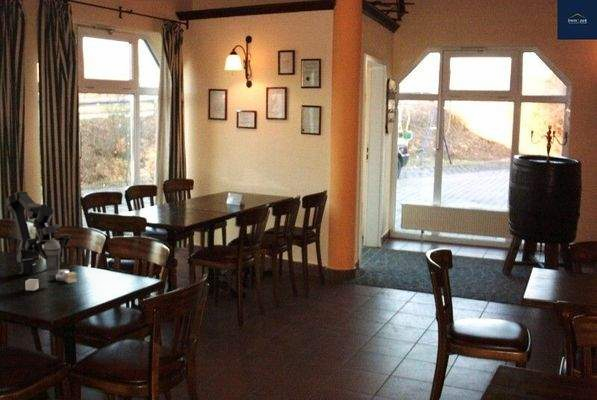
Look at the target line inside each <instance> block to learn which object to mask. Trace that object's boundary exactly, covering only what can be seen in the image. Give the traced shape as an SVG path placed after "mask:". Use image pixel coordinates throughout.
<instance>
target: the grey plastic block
mask: <svg viewBox="0 0 597 400" xmlns="http://www.w3.org/2000/svg"><path fill="white" fill-rule="evenodd" d="M24 285H25V287H24V288H25V291H36V290H38V289H39V288H40V287H39V285H40V284H39V279H38V278H37V279H35V278H29V279H27V280H25V283H24Z"/></svg>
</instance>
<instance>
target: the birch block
mask: <svg viewBox="0 0 597 400" xmlns="http://www.w3.org/2000/svg"><path fill="white" fill-rule="evenodd" d="M77 274H78V273H77V272H75V271H69V272H68V273H64V275H65V281H64V282H65V283H67V284H72V283H76V282H78V279H77V278H78V276H77Z"/></svg>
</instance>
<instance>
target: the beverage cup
mask: <svg viewBox="0 0 597 400" xmlns="http://www.w3.org/2000/svg"><path fill="white" fill-rule="evenodd" d="M54 239H55V238H54ZM54 239H51V233H50V240H48V241H47V242H46V243H45V244H44V245H43V247H42V248H43V250H44V252H45V254H46V257H47V259H46V260H45V263H46V271H47V275H48V276H56V275H57V274H59V270H60V260H61V259H60V258H61V257H60V250H61V247H60V244H59V242H58V241H57V240H54Z"/></svg>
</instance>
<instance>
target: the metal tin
mask: <svg viewBox="0 0 597 400" xmlns="http://www.w3.org/2000/svg"><path fill="white" fill-rule="evenodd" d="M68 272H70V269H68V268H67V269H62V268H61V269H59V274H57V275H55V280H56V281H58V282H65V275H64V273H68Z"/></svg>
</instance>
